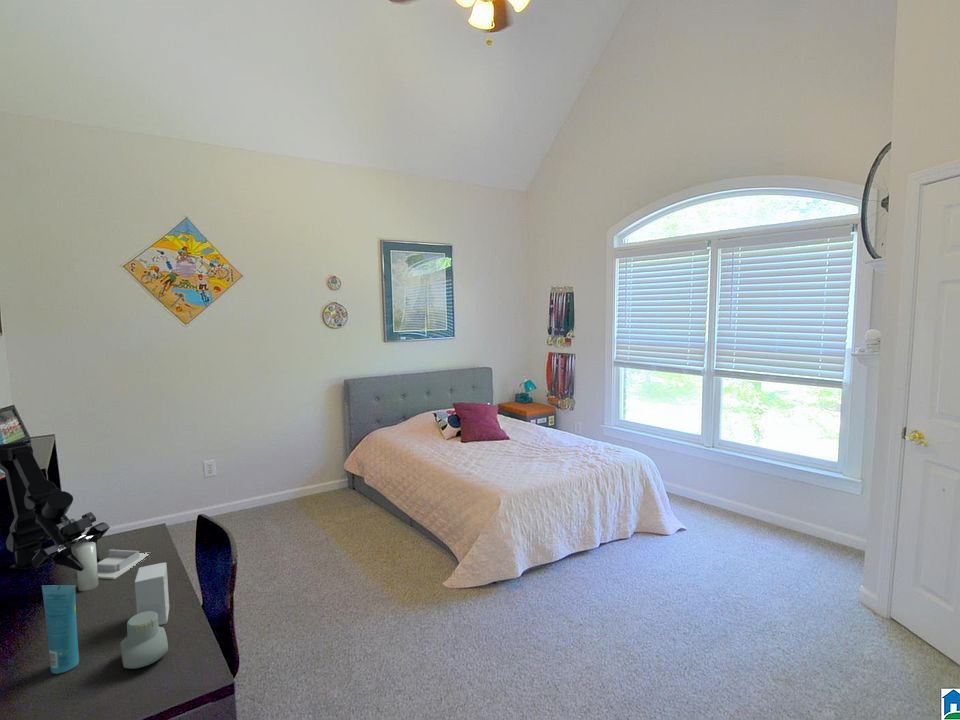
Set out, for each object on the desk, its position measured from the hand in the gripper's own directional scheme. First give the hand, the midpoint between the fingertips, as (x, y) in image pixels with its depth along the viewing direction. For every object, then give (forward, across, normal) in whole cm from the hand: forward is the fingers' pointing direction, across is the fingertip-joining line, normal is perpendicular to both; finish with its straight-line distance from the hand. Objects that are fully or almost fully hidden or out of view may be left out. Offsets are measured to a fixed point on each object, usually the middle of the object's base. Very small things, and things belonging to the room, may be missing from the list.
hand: (90, 565), depth 142 cm
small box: (+26, -8, -16) cm, 32 cm away
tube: (+22, -27, -13) cm, 37 cm away
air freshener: (+33, -21, -24) cm, 46 cm away
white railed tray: (+1, +12, +8) cm, 14 cm away
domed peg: (+4, 0, +6) cm, 7 cm away
